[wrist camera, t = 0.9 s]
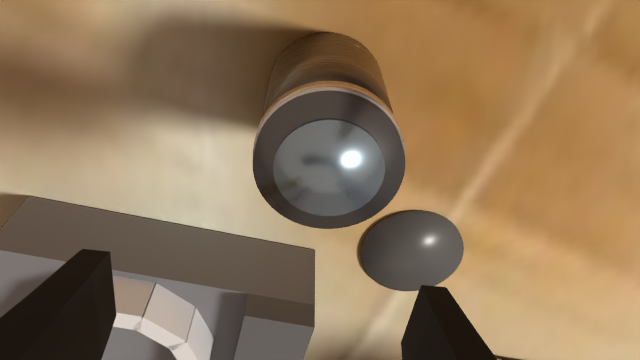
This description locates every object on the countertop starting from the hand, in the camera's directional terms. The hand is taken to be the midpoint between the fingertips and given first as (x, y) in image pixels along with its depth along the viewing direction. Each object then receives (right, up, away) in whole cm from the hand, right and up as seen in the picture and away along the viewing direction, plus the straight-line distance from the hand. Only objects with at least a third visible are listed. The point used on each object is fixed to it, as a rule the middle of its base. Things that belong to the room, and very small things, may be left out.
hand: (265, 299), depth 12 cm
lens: (+2, +6, +8) cm, 10 cm away
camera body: (-6, -2, +13) cm, 15 cm away
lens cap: (+6, 0, +13) cm, 14 cm away
